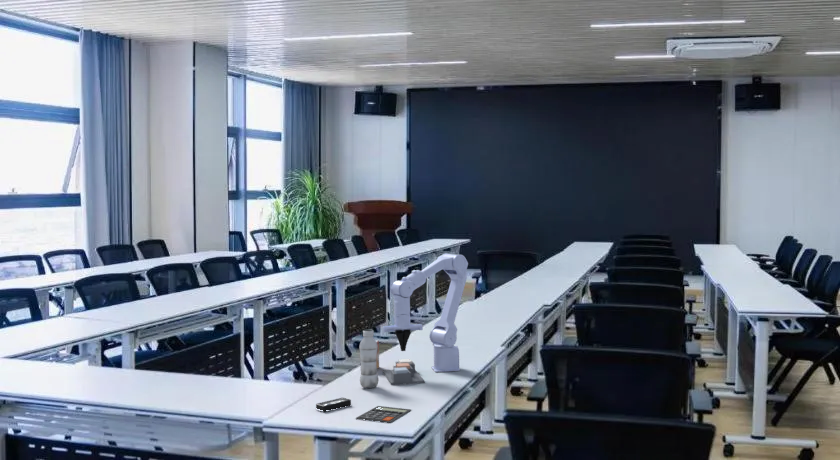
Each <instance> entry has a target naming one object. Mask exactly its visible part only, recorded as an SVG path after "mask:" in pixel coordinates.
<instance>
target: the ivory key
mask: <svg viewBox="0 0 840 460" xmlns="http://www.w3.org/2000/svg"><path fill="white" fill-rule="evenodd" d="M397 362H398V363H399V364H400V363H408V364H412V362H413V361H412V360H411V358H403V359H402V358H401V359H398V360H397Z"/></svg>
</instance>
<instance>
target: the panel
mask: <svg viewBox="0 0 840 460" xmlns="http://www.w3.org/2000/svg"><path fill="white" fill-rule="evenodd" d="M396 364H399V363H398V361H395V365H393V366H392V367H393V369H385V370H382V374H383V376H385V378H386V379H387V381H388V383H389V384H390V385H391V386H393V385H395V386H396V385H398V386H399V385H410V384H426V383H425V382H426V381H425V379H424V378H423V377H422V376H421V375H420V374H419V371H417V370H416V364H415V362H413V361H412V364H409V365H410V368H409V369H408V373H399V374H395V373H394V368H396Z"/></svg>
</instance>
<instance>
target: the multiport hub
mask: <svg viewBox="0 0 840 460" xmlns="http://www.w3.org/2000/svg"><path fill="white" fill-rule="evenodd" d="M350 405H351V406H352V399H350V398H345V397H339V398H335V399H331V400H326V401H322V402H318V403H316V404H315V409H316V408H317V409H320V410H323V411H326V410H331V409H336V408H340V407H344V408H346V407H345V406H348V407H351V406H350ZM340 409H341V408H340ZM336 410H337V409H336Z"/></svg>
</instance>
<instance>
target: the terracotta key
mask: <svg viewBox="0 0 840 460" xmlns="http://www.w3.org/2000/svg"><path fill="white" fill-rule="evenodd" d="M395 366H396V368H402V367H406V368H407V369H409V368H410V365H409V364H408V363H400V364H396V363H395Z"/></svg>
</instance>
